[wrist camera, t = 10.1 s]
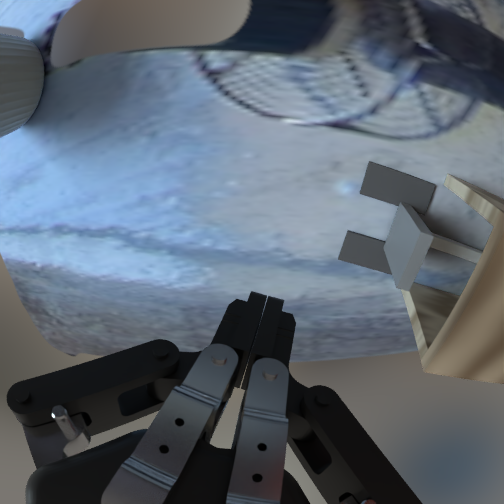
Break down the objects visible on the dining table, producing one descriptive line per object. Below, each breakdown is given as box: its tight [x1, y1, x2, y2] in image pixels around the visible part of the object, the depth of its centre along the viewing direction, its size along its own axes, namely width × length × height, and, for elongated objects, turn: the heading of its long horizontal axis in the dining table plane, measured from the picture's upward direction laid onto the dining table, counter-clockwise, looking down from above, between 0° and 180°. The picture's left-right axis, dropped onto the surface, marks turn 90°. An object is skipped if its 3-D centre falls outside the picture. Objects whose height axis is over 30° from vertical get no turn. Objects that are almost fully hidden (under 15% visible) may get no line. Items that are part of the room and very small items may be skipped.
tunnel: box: [401, 174, 504, 384], centre depth 22 cm, size 11×13×12 cm
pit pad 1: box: [338, 231, 392, 275], centre depth 31 cm, size 3×7×1 cm, turn 79°
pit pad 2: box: [360, 162, 435, 215], centre depth 27 cm, size 3×7×1 cm, turn 79°
